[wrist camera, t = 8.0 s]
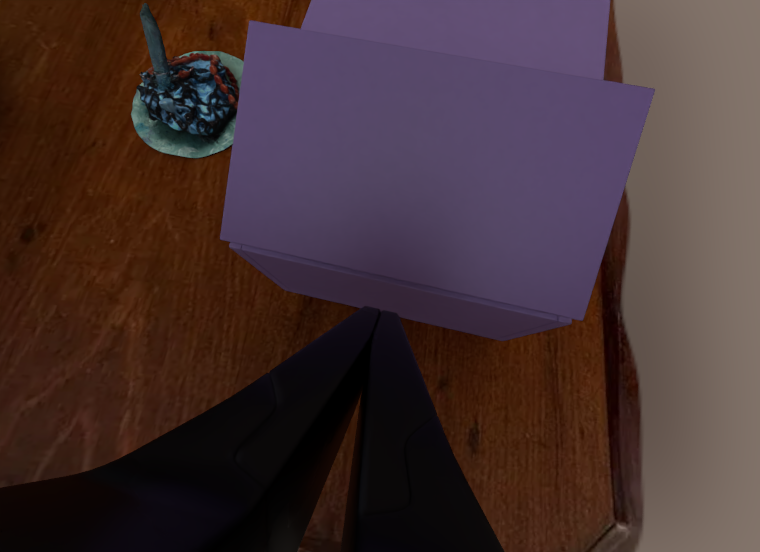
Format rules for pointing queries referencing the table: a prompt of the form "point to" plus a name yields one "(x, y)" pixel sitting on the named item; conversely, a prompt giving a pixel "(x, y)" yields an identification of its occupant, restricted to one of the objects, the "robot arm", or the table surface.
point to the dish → (186, 98)
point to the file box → (468, 39)
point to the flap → (430, 166)
